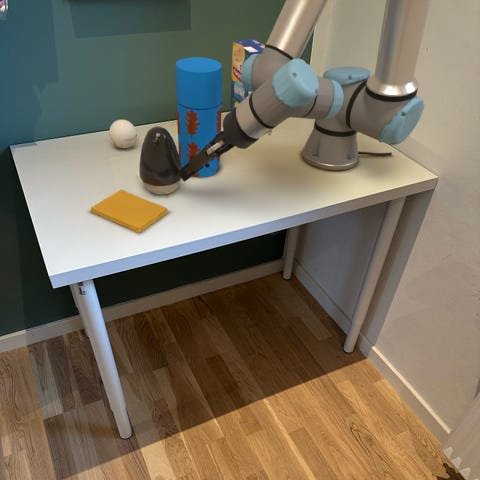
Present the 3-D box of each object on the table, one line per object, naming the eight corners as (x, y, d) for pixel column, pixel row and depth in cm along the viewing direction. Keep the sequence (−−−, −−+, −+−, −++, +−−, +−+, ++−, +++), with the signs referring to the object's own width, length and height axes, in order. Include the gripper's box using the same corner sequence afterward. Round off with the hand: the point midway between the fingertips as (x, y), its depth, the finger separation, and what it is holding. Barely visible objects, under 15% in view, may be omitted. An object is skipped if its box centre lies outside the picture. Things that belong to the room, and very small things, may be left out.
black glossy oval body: (136, 198, 112) (129, 135, 101) (145, 177, 119) (139, 116, 108) (179, 201, 111) (176, 139, 101) (185, 180, 119) (183, 120, 108)
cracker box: (245, 133, 140) (250, 52, 125) (229, 119, 147) (232, 40, 132) (265, 130, 143) (273, 50, 127) (249, 116, 149) (254, 39, 134)
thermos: (212, 180, 119) (213, 75, 102) (173, 173, 121) (167, 68, 103) (225, 162, 127) (228, 61, 109) (187, 155, 129) (185, 54, 111)
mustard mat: (167, 212, 108) (167, 208, 107) (139, 233, 102) (138, 228, 101) (121, 193, 113) (120, 189, 112) (91, 212, 106) (90, 207, 106)
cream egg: (118, 155, 126) (114, 128, 121) (106, 144, 131) (102, 118, 125) (151, 147, 131) (149, 121, 126) (139, 137, 135) (136, 111, 130)
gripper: (242, 150, 89) (175, 200, 107) (274, 128, 98) (207, 178, 115) (219, 115, 87) (155, 172, 105) (254, 96, 96) (189, 151, 113)
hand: (182, 175), depth 110 cm, fingers closed
